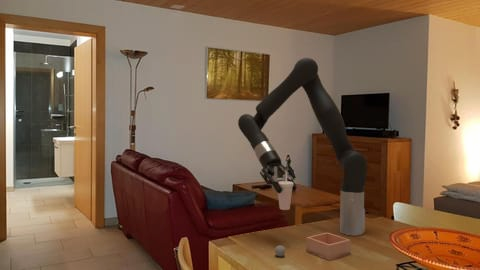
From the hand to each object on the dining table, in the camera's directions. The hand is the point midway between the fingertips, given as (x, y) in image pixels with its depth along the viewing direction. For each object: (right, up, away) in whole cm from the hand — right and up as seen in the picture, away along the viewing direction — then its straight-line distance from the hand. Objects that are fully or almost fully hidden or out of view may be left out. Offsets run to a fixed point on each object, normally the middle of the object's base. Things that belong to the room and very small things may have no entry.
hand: (287, 190), depth 144 cm
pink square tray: (+13, -21, -6) cm, 25 cm away
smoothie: (-1, -7, +2) cm, 7 cm away
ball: (-4, -21, -10) cm, 23 cm away
